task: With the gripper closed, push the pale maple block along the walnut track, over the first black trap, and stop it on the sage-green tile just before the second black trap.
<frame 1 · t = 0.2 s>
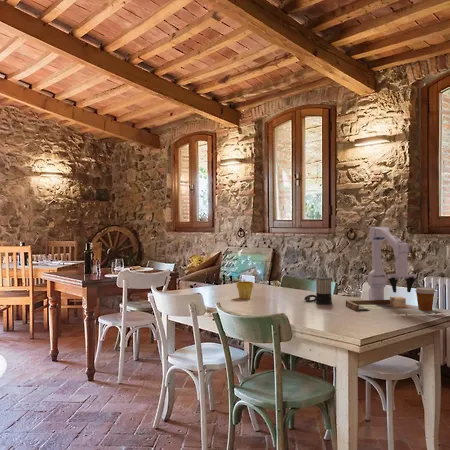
hand: (401, 292, 235), 10 cm above the table, tool pointing down, fingers open, 7 cm apart
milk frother: (318, 303, 262), on the table
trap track: (380, 308, 244), on the table
maple block: (397, 305, 244), point 1 cm above the table, touching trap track
disposable coffee cup: (425, 311, 233), on the table
plant pot: (245, 298, 281), on the table
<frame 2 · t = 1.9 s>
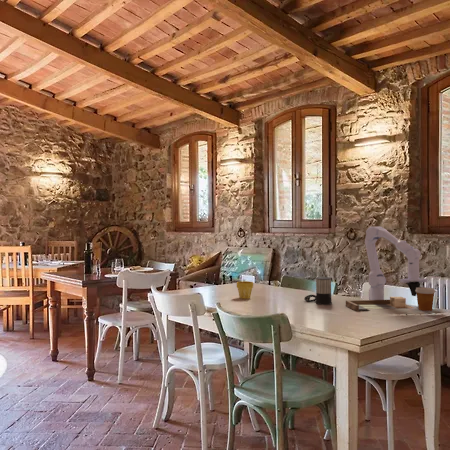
hand: (413, 295, 245), 6 cm above the table, tool pointing down, fingers closed
nothing on the table moved.
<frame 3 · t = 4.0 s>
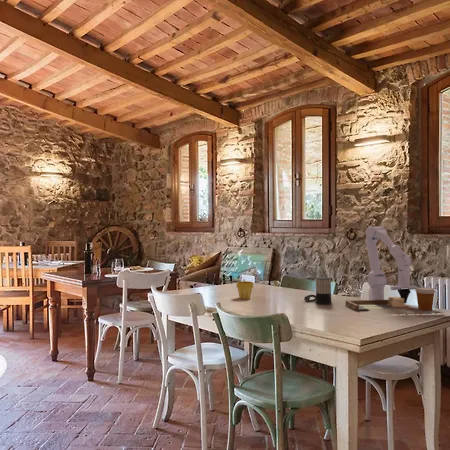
hand: (404, 303, 245), 2 cm above the table, tool pointing down, fingers closed
maple block: (396, 305, 244), point 1 cm above the table, touching gripper
everything else where it was.
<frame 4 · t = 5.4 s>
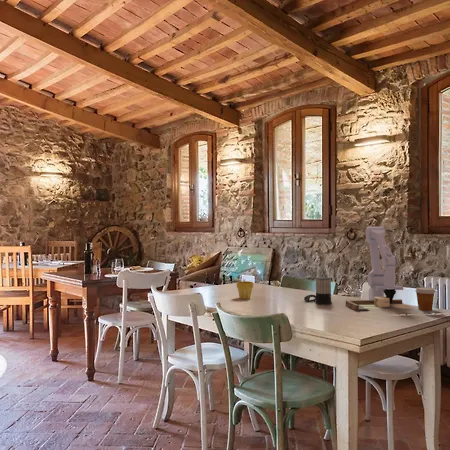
hand: (389, 303, 244), 2 cm above the table, tool pointing down, fingers closed
maple block: (381, 305, 244), point 1 cm above the table, touching gripper
everything else where it was.
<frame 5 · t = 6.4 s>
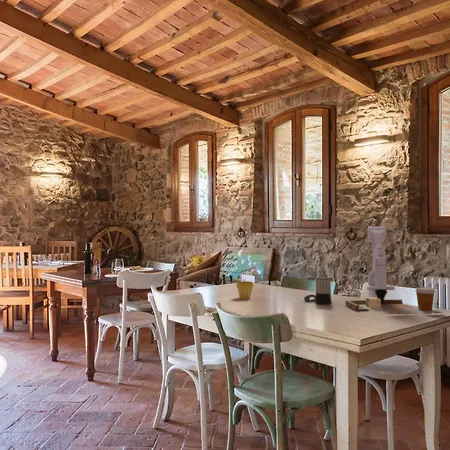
hand: (380, 303, 244), 2 cm above the table, tool pointing down, fingers closed
maple block: (373, 306, 243), point 1 cm above the table, touching gripper, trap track
everything else where it was.
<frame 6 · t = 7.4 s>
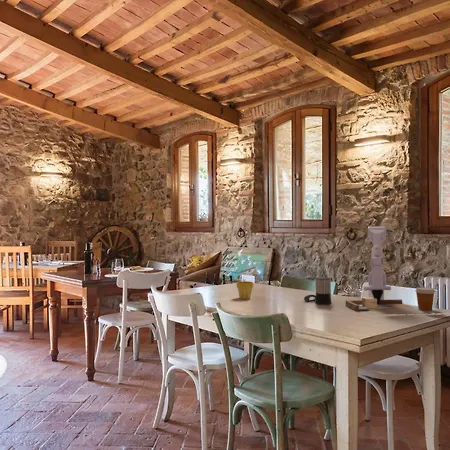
hand: (377, 303, 244), 2 cm above the table, tool pointing down, fingers closed
maple block: (369, 306, 243), point 1 cm above the table, touching gripper, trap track
everything else where it was.
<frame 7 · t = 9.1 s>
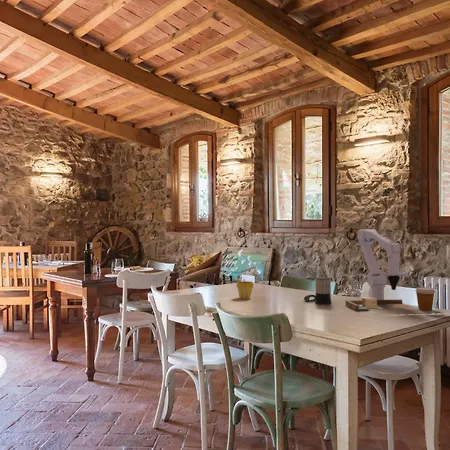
hand: (393, 289, 247), 9 cm above the table, tool pointing down, fingers closed
maple block: (369, 306, 243), point 1 cm above the table, touching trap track
everything else where it was.
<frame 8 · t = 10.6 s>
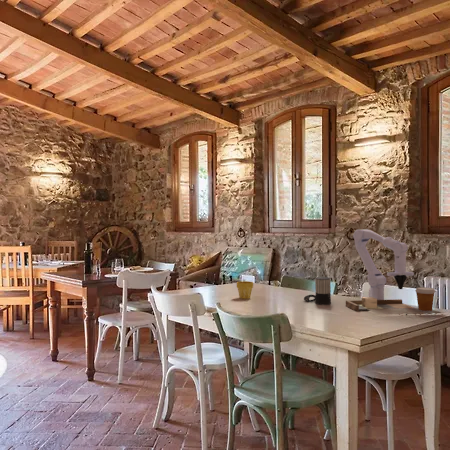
hand: (400, 288, 250), 9 cm above the table, tool pointing down, fingers closed
nothing on the table moved.
at the end: maple block inside the target area (0.5 cm from its centre), point 1.0 cm above the table; maple block tilted 0° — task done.
